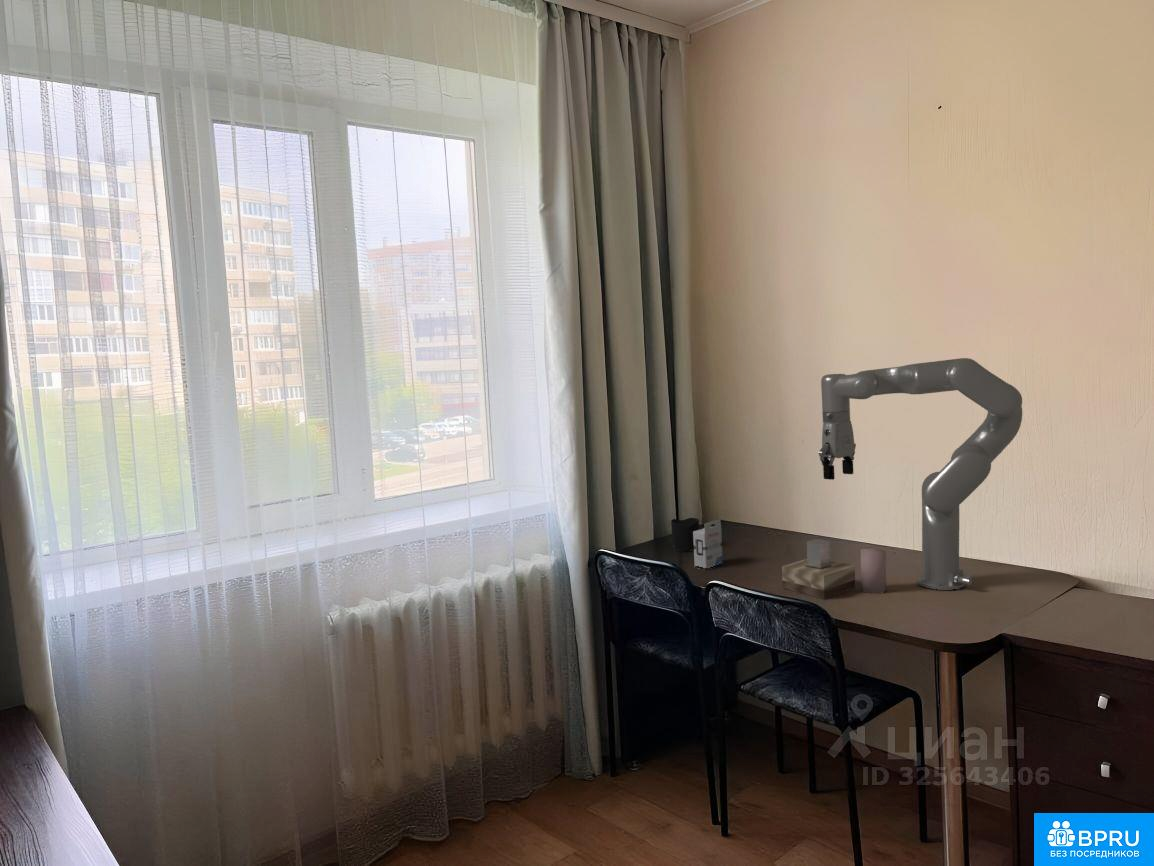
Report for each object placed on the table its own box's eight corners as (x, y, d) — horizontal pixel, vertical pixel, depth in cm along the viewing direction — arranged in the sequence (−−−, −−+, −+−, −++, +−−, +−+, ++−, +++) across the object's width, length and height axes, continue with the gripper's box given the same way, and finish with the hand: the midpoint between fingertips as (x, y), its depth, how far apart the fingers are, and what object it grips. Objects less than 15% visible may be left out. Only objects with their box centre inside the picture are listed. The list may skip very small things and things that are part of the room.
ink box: (710, 561, 270) (709, 516, 269) (723, 564, 267) (721, 518, 265) (693, 567, 265) (692, 521, 263) (706, 570, 261) (704, 523, 259)
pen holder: (680, 544, 294) (679, 516, 293) (704, 547, 289) (703, 518, 288) (667, 551, 287) (666, 522, 285) (691, 554, 281) (690, 524, 280)
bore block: (855, 588, 236) (854, 565, 236) (824, 599, 228) (823, 576, 227) (813, 578, 247) (813, 556, 247) (782, 588, 239) (782, 566, 238)
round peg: (890, 590, 233) (890, 551, 232) (877, 595, 230) (876, 555, 228) (869, 585, 239) (869, 547, 237) (856, 590, 235) (855, 551, 233)
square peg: (830, 579, 237) (829, 541, 236) (820, 582, 234) (820, 544, 233) (817, 576, 241) (816, 538, 239) (807, 579, 238) (806, 541, 237)
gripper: (830, 421, 233) (833, 482, 235) (864, 414, 244) (866, 472, 246) (807, 420, 239) (810, 480, 240) (841, 413, 250) (843, 471, 251)
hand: (838, 476), depth 243 cm, fingers open, 9 cm apart
